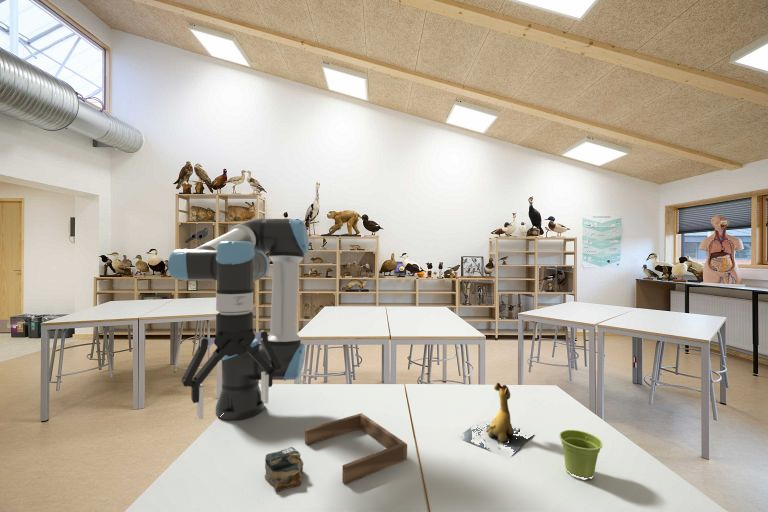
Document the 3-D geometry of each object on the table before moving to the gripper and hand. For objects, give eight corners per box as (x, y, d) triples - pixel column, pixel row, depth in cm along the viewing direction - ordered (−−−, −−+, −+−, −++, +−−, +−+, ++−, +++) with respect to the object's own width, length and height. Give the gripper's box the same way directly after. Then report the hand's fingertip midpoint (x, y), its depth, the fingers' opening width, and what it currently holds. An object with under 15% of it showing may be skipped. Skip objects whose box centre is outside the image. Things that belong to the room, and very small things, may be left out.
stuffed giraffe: (535, 435, 112) (533, 382, 112) (509, 461, 99) (507, 401, 98) (485, 420, 123) (484, 371, 123) (456, 442, 110) (454, 387, 109)
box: (305, 443, 105) (305, 429, 105) (361, 425, 116) (361, 413, 116) (344, 484, 87) (345, 467, 87) (407, 459, 98) (407, 444, 98)
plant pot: (600, 490, 86) (601, 453, 86) (556, 476, 91) (556, 441, 91) (602, 470, 94) (603, 436, 94) (561, 458, 99) (561, 426, 99)
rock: (276, 495, 83) (276, 470, 83) (261, 474, 90) (261, 451, 90) (311, 481, 88) (312, 457, 88) (295, 462, 96) (295, 440, 96)
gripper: (172, 320, 71) (171, 431, 71) (295, 309, 86) (294, 401, 87) (166, 314, 77) (165, 417, 77) (283, 305, 92) (282, 391, 93)
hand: (233, 408), depth 82 cm, fingers open, 13 cm apart
